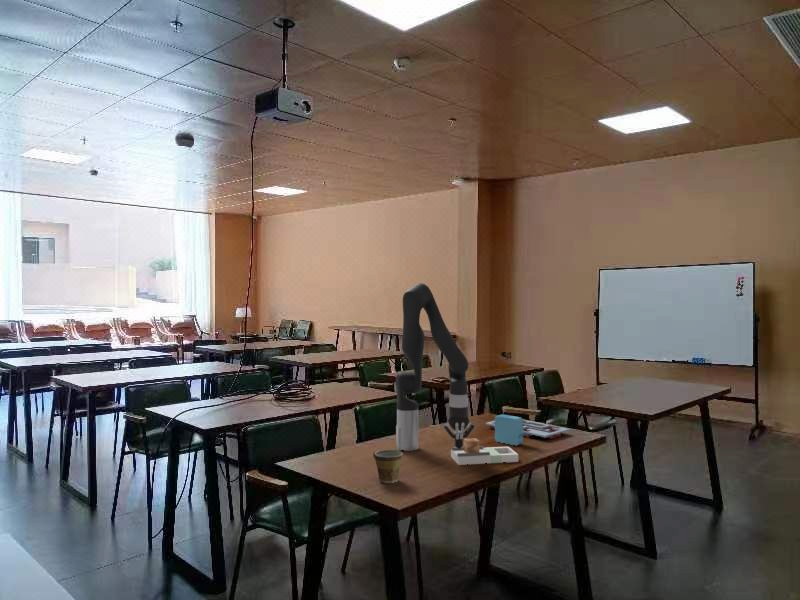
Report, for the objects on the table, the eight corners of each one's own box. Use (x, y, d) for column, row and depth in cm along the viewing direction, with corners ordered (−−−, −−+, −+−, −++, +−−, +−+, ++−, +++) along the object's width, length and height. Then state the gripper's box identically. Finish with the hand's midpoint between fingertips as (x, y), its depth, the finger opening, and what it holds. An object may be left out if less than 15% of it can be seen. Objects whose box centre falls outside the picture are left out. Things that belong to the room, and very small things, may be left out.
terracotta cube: (467, 454, 232) (467, 441, 232) (463, 450, 237) (463, 438, 237) (479, 453, 233) (479, 441, 233) (475, 450, 238) (475, 438, 238)
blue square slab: (523, 444, 258) (523, 417, 258) (517, 446, 255) (517, 419, 255) (499, 440, 266) (499, 413, 266) (494, 441, 263) (494, 415, 263)
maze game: (485, 429, 289) (485, 422, 289) (511, 423, 302) (511, 417, 302) (544, 442, 262) (544, 435, 262) (569, 435, 275) (569, 428, 275)
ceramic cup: (408, 480, 209) (408, 453, 209) (387, 487, 202) (387, 458, 202) (383, 473, 219) (383, 446, 218) (363, 479, 212) (363, 451, 211)
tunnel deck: (458, 464, 228) (458, 454, 228) (451, 456, 240) (451, 446, 240) (518, 461, 232) (518, 451, 232) (508, 453, 244) (508, 444, 244)
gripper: (444, 407, 229) (444, 451, 229) (477, 406, 231) (477, 449, 231) (440, 403, 236) (440, 446, 237) (472, 402, 238) (472, 445, 239)
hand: (458, 448), depth 234 cm, fingers closed
